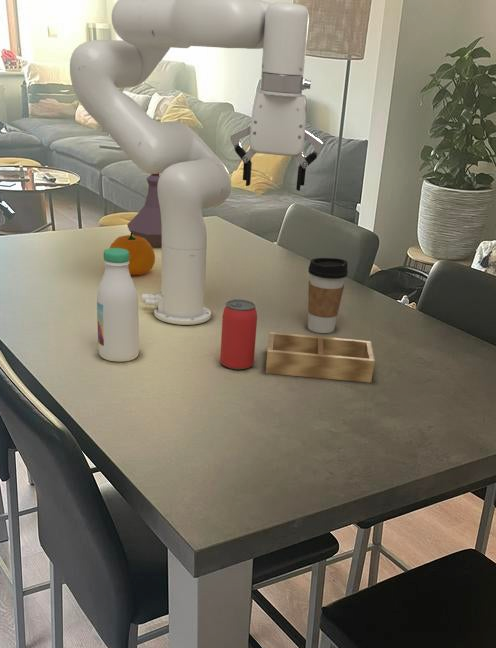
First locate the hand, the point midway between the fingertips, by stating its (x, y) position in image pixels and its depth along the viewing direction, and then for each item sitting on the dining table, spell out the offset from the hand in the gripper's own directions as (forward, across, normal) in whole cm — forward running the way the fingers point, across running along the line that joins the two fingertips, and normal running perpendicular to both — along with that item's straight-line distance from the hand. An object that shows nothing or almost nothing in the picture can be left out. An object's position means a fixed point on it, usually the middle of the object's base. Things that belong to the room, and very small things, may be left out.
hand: (273, 187), depth 148 cm
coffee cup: (+31, -13, -10) cm, 35 cm away
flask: (+31, +34, -70) cm, 84 cm away
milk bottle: (+31, +27, +16) cm, 44 cm away
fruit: (+31, +35, -40) cm, 61 cm away
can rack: (+30, -12, +13) cm, 35 cm away
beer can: (+31, +4, +15) cm, 34 cm away
